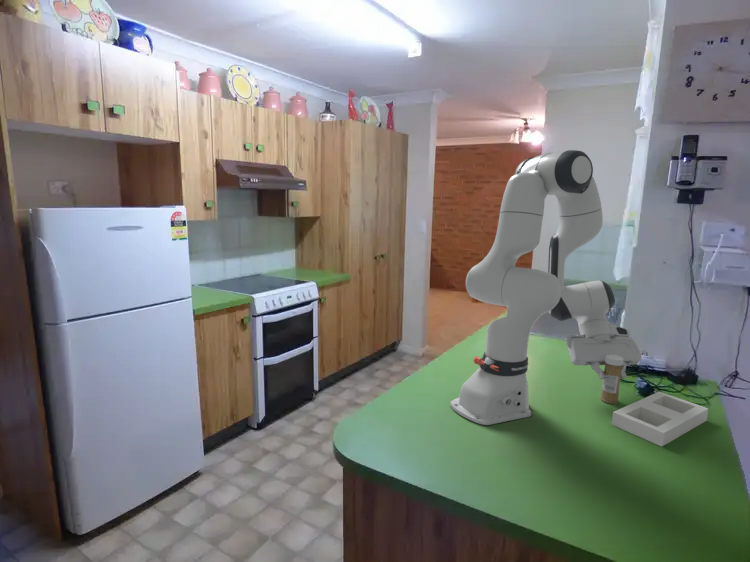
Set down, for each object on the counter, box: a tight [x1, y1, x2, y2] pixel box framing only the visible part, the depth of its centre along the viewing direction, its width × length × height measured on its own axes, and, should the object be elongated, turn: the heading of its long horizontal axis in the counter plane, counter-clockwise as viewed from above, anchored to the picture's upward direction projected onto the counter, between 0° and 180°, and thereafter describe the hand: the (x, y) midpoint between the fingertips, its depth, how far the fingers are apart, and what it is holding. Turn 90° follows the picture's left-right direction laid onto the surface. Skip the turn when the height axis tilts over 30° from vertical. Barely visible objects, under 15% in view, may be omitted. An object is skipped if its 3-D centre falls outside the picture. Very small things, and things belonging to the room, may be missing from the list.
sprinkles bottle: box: [600, 355, 623, 405], centre depth 125 cm, size 5×5×14 cm
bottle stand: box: [610, 391, 709, 447], centre depth 114 cm, size 24×12×4 cm, turn 123°
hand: (613, 378), depth 124 cm, fingers closed on sprinkles bottle, 4 cm apart
